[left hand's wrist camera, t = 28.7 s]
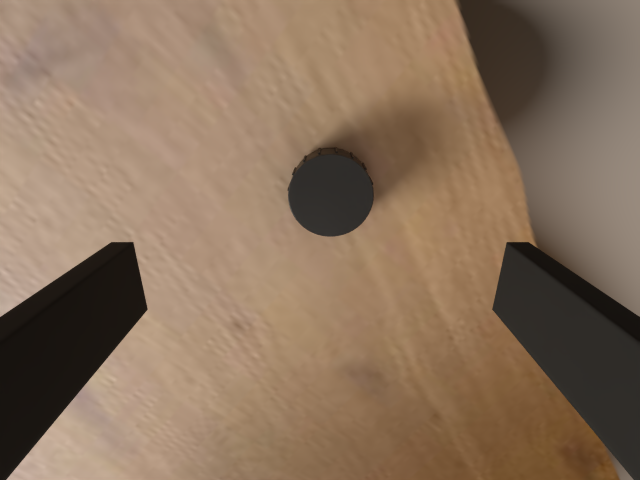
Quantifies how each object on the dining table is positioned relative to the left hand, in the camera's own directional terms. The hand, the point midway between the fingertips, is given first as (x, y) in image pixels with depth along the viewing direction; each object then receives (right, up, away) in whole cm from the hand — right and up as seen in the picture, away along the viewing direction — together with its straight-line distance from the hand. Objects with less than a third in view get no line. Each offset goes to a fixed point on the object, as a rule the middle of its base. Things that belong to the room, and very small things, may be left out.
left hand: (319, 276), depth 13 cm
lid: (+1, +4, +7) cm, 8 cm away
